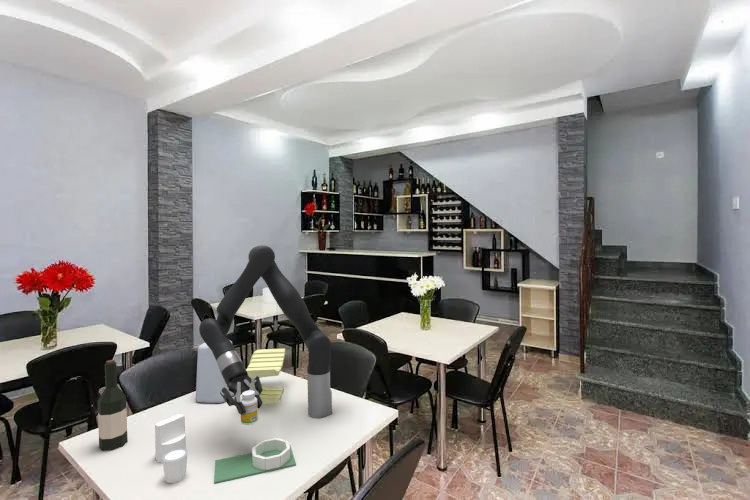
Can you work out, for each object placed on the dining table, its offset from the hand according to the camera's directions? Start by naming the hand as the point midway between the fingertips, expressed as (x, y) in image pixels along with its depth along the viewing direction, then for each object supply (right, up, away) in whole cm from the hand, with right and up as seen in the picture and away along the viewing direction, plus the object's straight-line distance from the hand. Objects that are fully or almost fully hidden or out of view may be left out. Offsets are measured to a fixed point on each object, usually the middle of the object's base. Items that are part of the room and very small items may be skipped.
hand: (252, 410), depth 126 cm
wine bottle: (-52, -16, +9) cm, 55 cm away
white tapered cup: (-20, -16, -10) cm, 28 cm away
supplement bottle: (-1, -4, +1) cm, 5 cm away
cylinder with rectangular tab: (-28, -16, +2) cm, 32 cm away
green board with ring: (+2, -16, -3) cm, 16 cm away
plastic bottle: (-32, -15, +49) cm, 60 cm away
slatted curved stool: (-10, -14, +48) cm, 51 cm away
